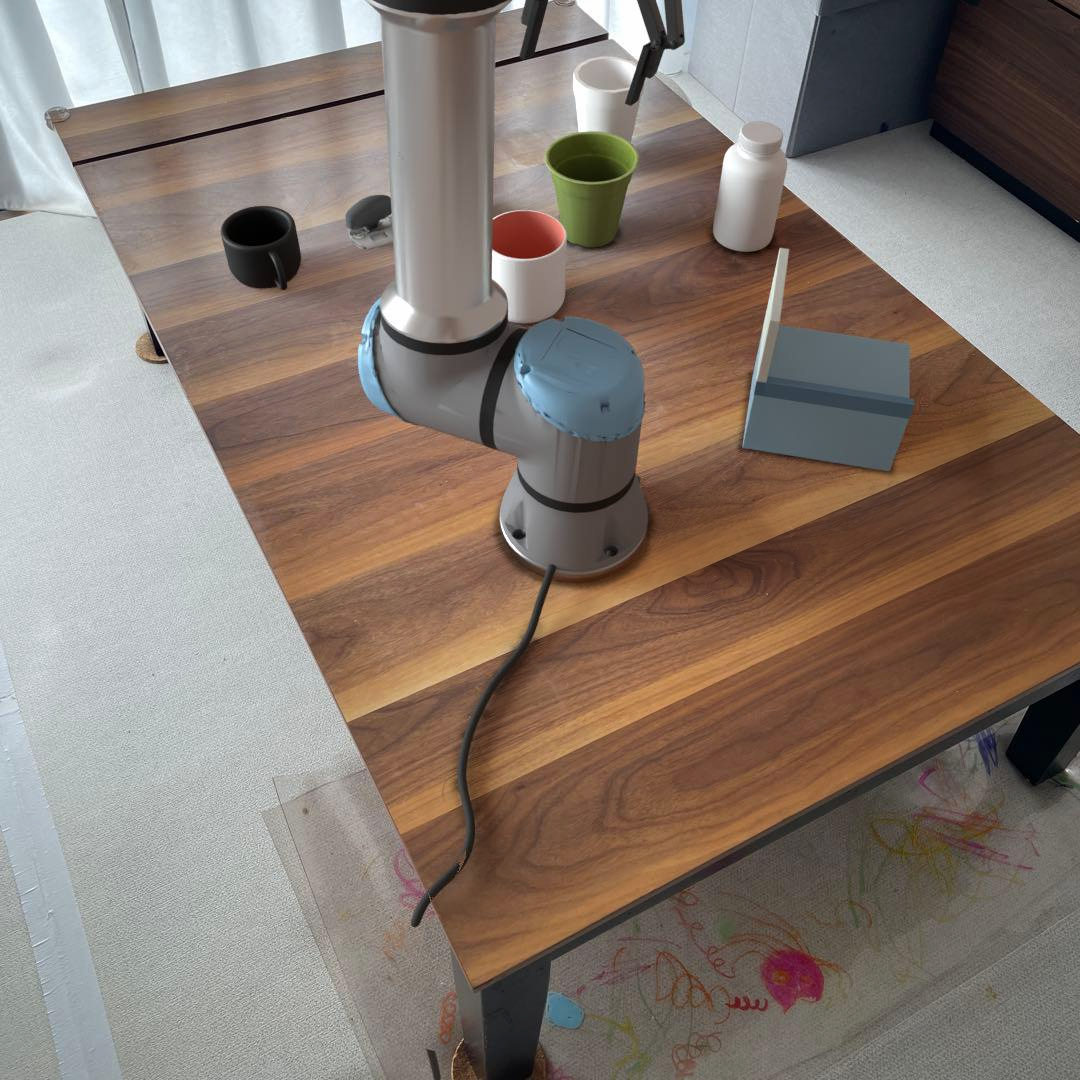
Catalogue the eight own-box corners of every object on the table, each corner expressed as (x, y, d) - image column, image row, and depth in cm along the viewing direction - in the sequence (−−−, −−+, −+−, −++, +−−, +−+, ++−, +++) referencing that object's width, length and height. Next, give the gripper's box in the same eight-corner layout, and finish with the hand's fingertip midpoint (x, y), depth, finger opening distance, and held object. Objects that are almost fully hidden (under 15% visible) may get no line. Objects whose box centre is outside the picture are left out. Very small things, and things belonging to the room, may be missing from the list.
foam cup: (648, 156, 159) (657, 69, 149) (616, 187, 154) (622, 99, 144) (591, 136, 162) (596, 49, 152) (558, 166, 157) (560, 78, 147)
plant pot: (587, 195, 153) (590, 120, 144) (651, 233, 148) (659, 157, 139) (525, 231, 148) (524, 155, 139) (589, 271, 142) (593, 195, 134)
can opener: (361, 264, 143) (355, 222, 138) (344, 244, 146) (337, 202, 141) (489, 219, 149) (488, 177, 144) (470, 200, 152) (468, 158, 147)
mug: (222, 264, 143) (209, 217, 137) (288, 244, 145) (279, 197, 140) (254, 318, 136) (242, 270, 130) (323, 296, 139) (315, 248, 133)
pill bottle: (784, 235, 148) (806, 131, 136) (748, 261, 144) (768, 157, 132) (736, 210, 151) (753, 107, 140) (699, 236, 147) (714, 132, 136)
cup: (556, 333, 135) (558, 265, 127) (475, 322, 136) (472, 254, 128) (571, 283, 141) (574, 215, 133) (494, 272, 142) (492, 204, 134)
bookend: (889, 472, 121) (937, 344, 107) (742, 448, 123) (769, 320, 109) (891, 397, 128) (936, 269, 114) (752, 375, 130) (779, 247, 116)
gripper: (756, -84, 116) (685, 114, 129) (545, -169, 120) (496, 32, 133) (738, -77, 110) (666, 129, 124) (517, -167, 114) (469, 43, 127)
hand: (578, 79), depth 128 cm, fingers open, 13 cm apart
